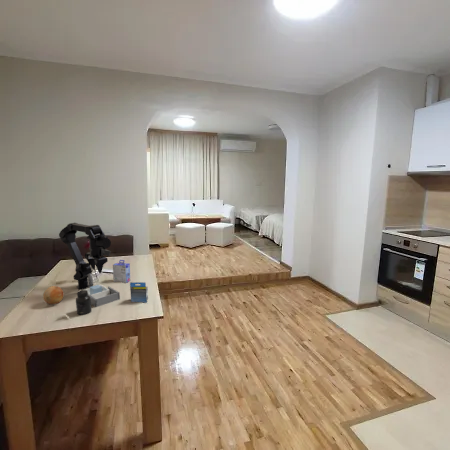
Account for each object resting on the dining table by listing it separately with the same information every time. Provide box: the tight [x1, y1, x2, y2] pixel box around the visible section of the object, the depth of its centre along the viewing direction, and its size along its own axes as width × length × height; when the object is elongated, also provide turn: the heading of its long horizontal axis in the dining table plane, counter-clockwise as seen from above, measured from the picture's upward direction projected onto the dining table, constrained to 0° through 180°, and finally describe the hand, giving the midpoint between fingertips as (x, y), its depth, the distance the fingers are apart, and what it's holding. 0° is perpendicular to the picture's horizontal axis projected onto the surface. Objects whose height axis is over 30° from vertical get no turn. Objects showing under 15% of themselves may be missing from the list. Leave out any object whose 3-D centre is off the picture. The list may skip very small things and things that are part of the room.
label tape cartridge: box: [129, 281, 149, 304], centre depth 158 cm, size 9×4×12 cm, turn 91°
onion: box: [42, 285, 65, 305], centre depth 155 cm, size 10×10×10 cm
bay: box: [88, 285, 121, 308], centre depth 159 cm, size 13×14×5 cm
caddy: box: [83, 273, 110, 299], centre depth 165 cm, size 14×11×12 cm
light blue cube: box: [90, 284, 102, 295], centre depth 164 cm, size 5×5×5 cm
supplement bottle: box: [75, 289, 93, 316], centre depth 144 cm, size 7×7×12 cm
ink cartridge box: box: [112, 259, 131, 284], centre depth 187 cm, size 10×6×14 cm, turn 78°
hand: (96, 271), depth 170 cm, fingers open, 9 cm apart
